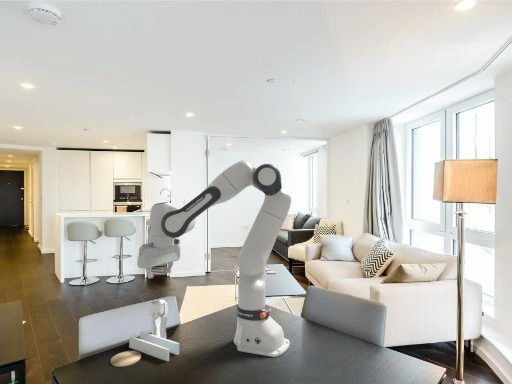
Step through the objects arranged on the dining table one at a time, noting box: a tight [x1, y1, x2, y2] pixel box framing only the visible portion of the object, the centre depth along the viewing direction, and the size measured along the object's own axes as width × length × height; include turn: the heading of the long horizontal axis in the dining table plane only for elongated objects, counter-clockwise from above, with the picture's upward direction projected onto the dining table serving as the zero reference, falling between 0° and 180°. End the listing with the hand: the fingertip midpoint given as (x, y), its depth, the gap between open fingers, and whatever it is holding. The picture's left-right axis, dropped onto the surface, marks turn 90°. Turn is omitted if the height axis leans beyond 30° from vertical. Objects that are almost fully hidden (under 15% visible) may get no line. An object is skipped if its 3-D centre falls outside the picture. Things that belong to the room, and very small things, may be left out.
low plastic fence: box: [128, 330, 180, 362], centre depth 113 cm, size 20×6×4 cm, turn 61°
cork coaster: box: [110, 350, 142, 368], centre depth 107 cm, size 10×10×1 cm
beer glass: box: [149, 298, 169, 339], centre depth 123 cm, size 7×7×15 cm
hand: (159, 275), depth 123 cm, fingers open, 8 cm apart
